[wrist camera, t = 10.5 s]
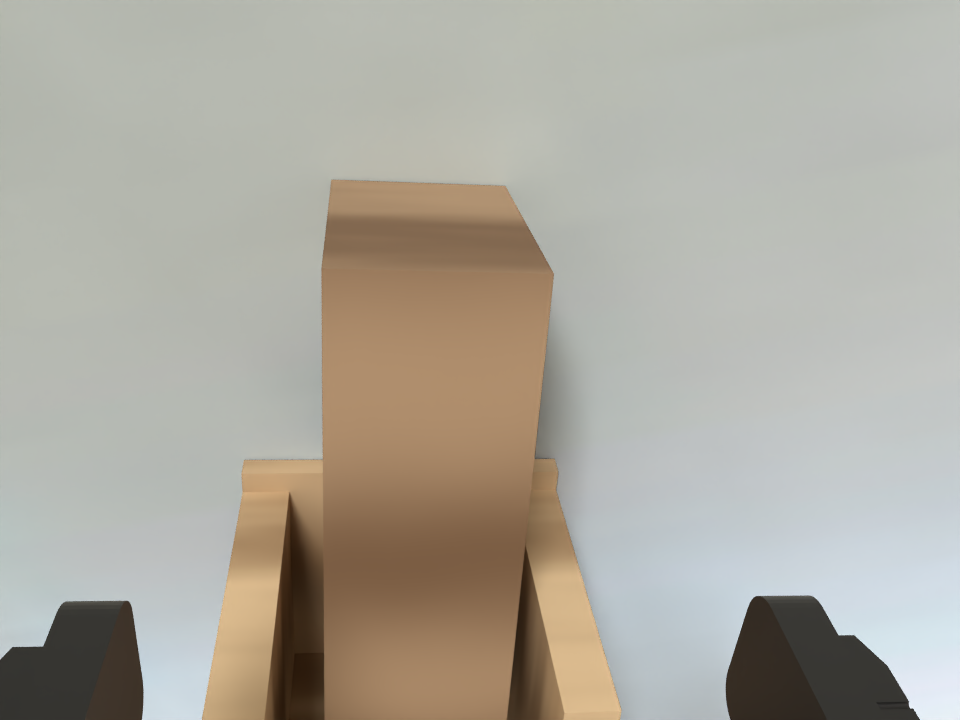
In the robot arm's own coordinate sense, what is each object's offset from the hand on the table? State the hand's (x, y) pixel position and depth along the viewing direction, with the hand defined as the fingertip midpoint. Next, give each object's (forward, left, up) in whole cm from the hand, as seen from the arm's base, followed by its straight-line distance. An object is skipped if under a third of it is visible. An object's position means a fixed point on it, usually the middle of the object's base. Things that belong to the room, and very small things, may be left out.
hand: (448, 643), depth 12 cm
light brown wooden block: (+4, 0, -11) cm, 12 cm away
